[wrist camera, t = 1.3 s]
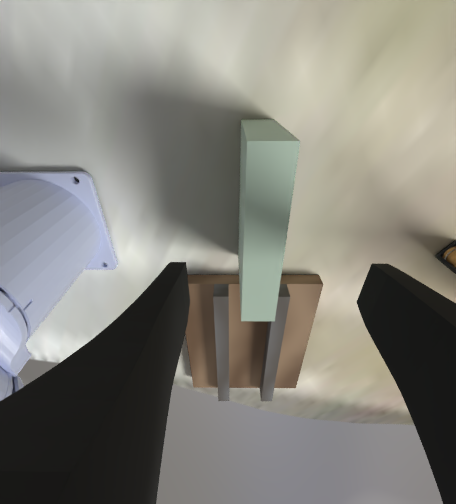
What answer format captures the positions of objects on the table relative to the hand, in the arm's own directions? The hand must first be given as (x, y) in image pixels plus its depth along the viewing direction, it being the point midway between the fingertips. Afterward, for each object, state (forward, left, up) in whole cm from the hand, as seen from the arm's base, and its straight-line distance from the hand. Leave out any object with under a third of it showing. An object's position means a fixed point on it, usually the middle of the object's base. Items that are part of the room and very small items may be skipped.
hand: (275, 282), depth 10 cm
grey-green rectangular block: (0, 0, -10) cm, 10 cm away
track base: (0, -15, -9) cm, 18 cm away
